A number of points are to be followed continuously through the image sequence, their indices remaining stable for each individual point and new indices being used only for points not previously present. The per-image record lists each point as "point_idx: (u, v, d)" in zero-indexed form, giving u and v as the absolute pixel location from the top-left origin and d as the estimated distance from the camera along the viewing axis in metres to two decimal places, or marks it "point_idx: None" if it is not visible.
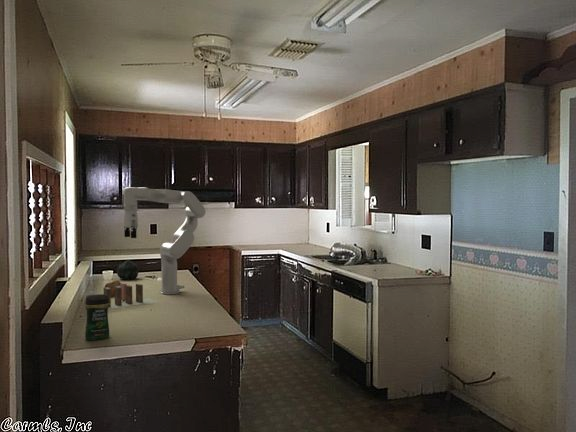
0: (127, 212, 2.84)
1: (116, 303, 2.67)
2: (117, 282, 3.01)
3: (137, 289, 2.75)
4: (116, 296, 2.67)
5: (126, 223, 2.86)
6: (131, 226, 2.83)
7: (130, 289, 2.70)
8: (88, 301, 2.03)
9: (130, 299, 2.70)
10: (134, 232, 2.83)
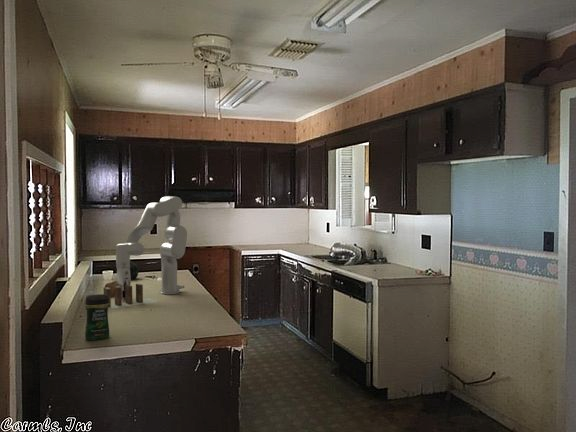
0: (120, 269, 2.79)
1: (116, 303, 2.67)
2: None
3: (137, 289, 2.75)
4: (116, 296, 2.67)
5: (119, 280, 2.80)
6: (123, 285, 2.78)
7: (130, 289, 2.70)
8: (88, 301, 2.03)
9: (130, 299, 2.70)
10: None
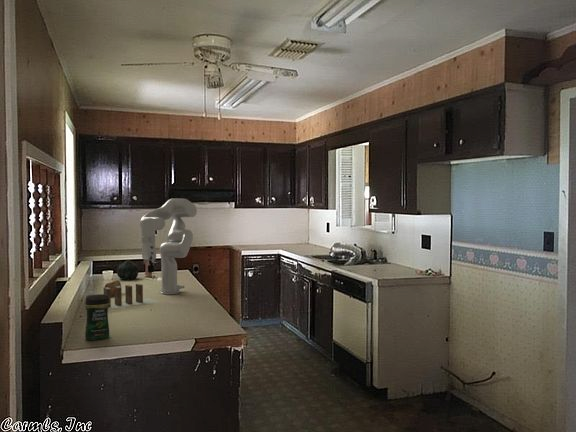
0: (145, 244, 2.76)
1: (116, 303, 2.67)
2: (117, 282, 3.01)
3: (137, 289, 2.75)
4: (116, 296, 2.67)
5: (144, 255, 2.77)
6: (149, 260, 2.75)
7: (130, 289, 2.70)
8: (88, 301, 2.03)
9: (130, 299, 2.70)
10: (151, 266, 2.76)
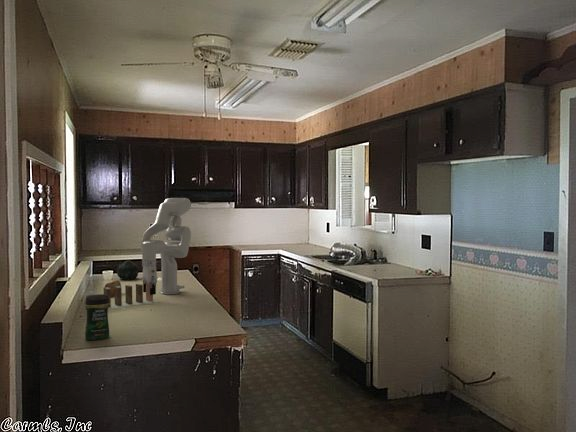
0: (146, 268, 2.76)
1: (116, 303, 2.67)
2: (117, 282, 3.01)
3: (137, 289, 2.75)
4: (116, 296, 2.67)
5: (145, 279, 2.78)
6: (150, 282, 2.75)
7: (130, 289, 2.70)
8: (88, 301, 2.03)
9: (130, 299, 2.70)
10: (153, 289, 2.75)
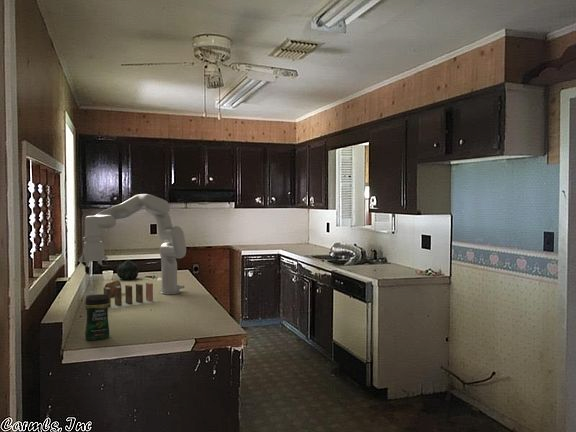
0: None
1: (116, 303, 2.67)
2: (117, 282, 3.01)
3: (137, 289, 2.75)
4: (116, 296, 2.67)
5: None
6: (85, 260, 2.58)
7: (130, 289, 2.70)
8: (88, 301, 2.03)
9: (130, 299, 2.70)
10: (85, 267, 2.56)
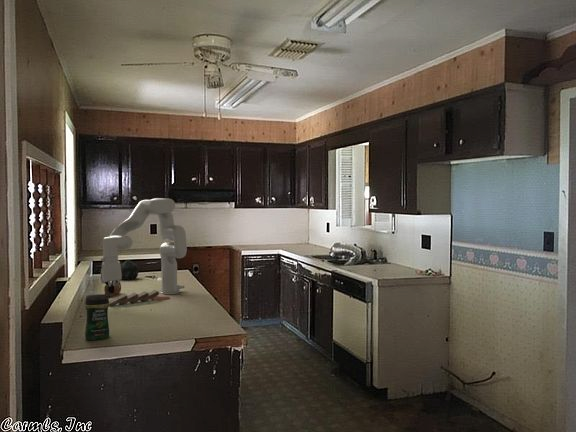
0: None
1: None
2: (117, 282, 3.01)
3: (152, 292, 2.81)
4: None
5: None
6: (106, 281, 2.65)
7: (145, 295, 2.76)
8: (88, 301, 2.03)
9: (136, 299, 2.72)
10: (108, 287, 2.64)
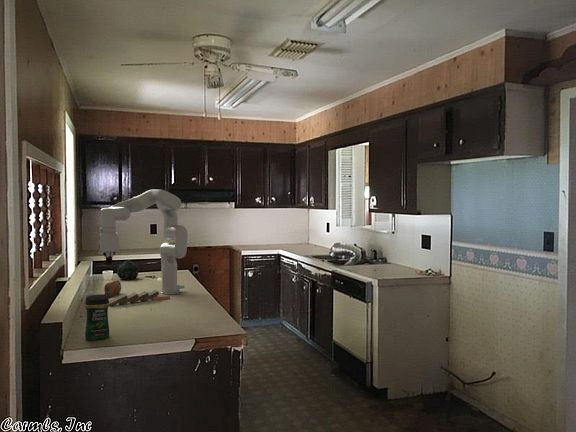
0: None
1: None
2: (117, 282, 3.01)
3: (152, 292, 2.81)
4: None
5: None
6: (104, 252, 2.65)
7: (145, 295, 2.76)
8: (88, 301, 2.03)
9: (136, 299, 2.72)
10: (106, 258, 2.64)
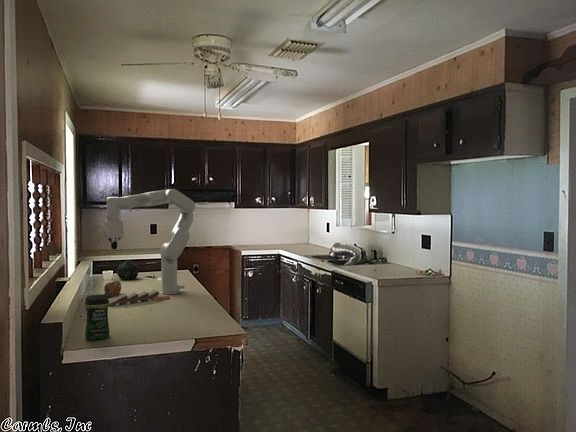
0: None
1: None
2: (117, 282, 3.01)
3: (152, 292, 2.81)
4: None
5: None
6: None
7: (145, 295, 2.76)
8: (88, 301, 2.03)
9: (136, 299, 2.72)
10: (111, 243, 2.87)
